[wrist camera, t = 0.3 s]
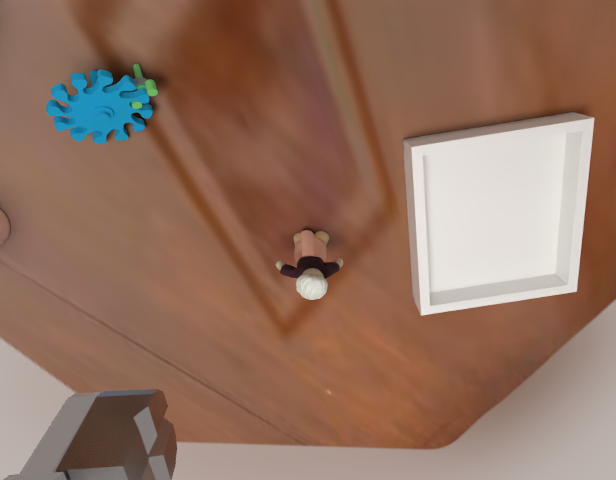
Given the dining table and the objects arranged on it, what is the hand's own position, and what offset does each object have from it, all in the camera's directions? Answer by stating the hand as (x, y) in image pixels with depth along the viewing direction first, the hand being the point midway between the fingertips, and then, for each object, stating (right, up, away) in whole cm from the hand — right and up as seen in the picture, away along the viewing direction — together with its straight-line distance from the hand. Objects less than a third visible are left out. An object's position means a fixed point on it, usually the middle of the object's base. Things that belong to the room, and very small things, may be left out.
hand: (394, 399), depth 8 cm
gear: (-22, +18, +43) cm, 52 cm away
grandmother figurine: (-2, +3, +51) cm, 51 cm away
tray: (+21, +6, +51) cm, 55 cm away
